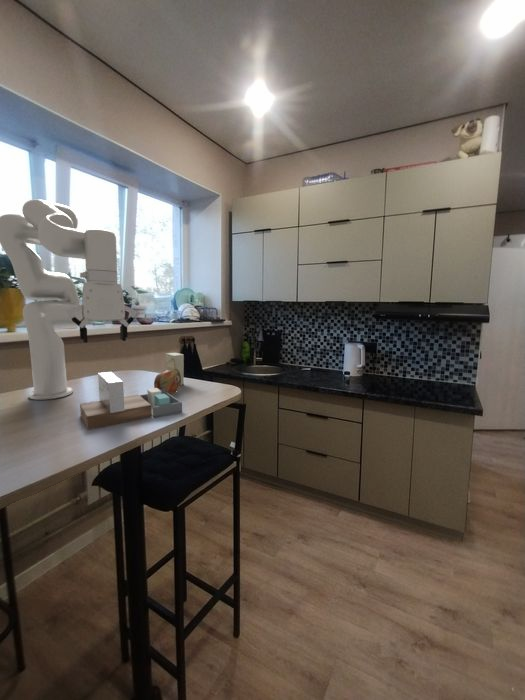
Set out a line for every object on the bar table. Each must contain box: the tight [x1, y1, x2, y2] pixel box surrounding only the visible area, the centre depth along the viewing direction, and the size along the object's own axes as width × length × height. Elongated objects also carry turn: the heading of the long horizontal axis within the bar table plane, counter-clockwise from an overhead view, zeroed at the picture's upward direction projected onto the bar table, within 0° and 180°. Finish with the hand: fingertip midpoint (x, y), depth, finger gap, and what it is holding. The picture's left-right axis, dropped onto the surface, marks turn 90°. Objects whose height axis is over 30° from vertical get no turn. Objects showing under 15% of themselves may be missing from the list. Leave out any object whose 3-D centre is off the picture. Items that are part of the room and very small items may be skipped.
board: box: [79, 394, 153, 431], centre depth 91 cm, size 12×16×4 cm
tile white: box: [146, 387, 161, 407], centre depth 101 cm, size 4×4×3 cm
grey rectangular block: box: [97, 371, 125, 413], centre depth 90 cm, size 4×14×8 cm, turn 37°
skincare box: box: [165, 352, 185, 386], centre depth 126 cm, size 6×4×12 cm
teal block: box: [154, 394, 170, 407], centre depth 95 cm, size 4×4×3 cm
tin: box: [153, 369, 181, 396], centre depth 113 cm, size 15×3×8 cm, turn 168°
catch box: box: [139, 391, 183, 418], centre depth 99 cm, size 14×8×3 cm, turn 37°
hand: (104, 341), depth 90 cm, fingers open, 9 cm apart
